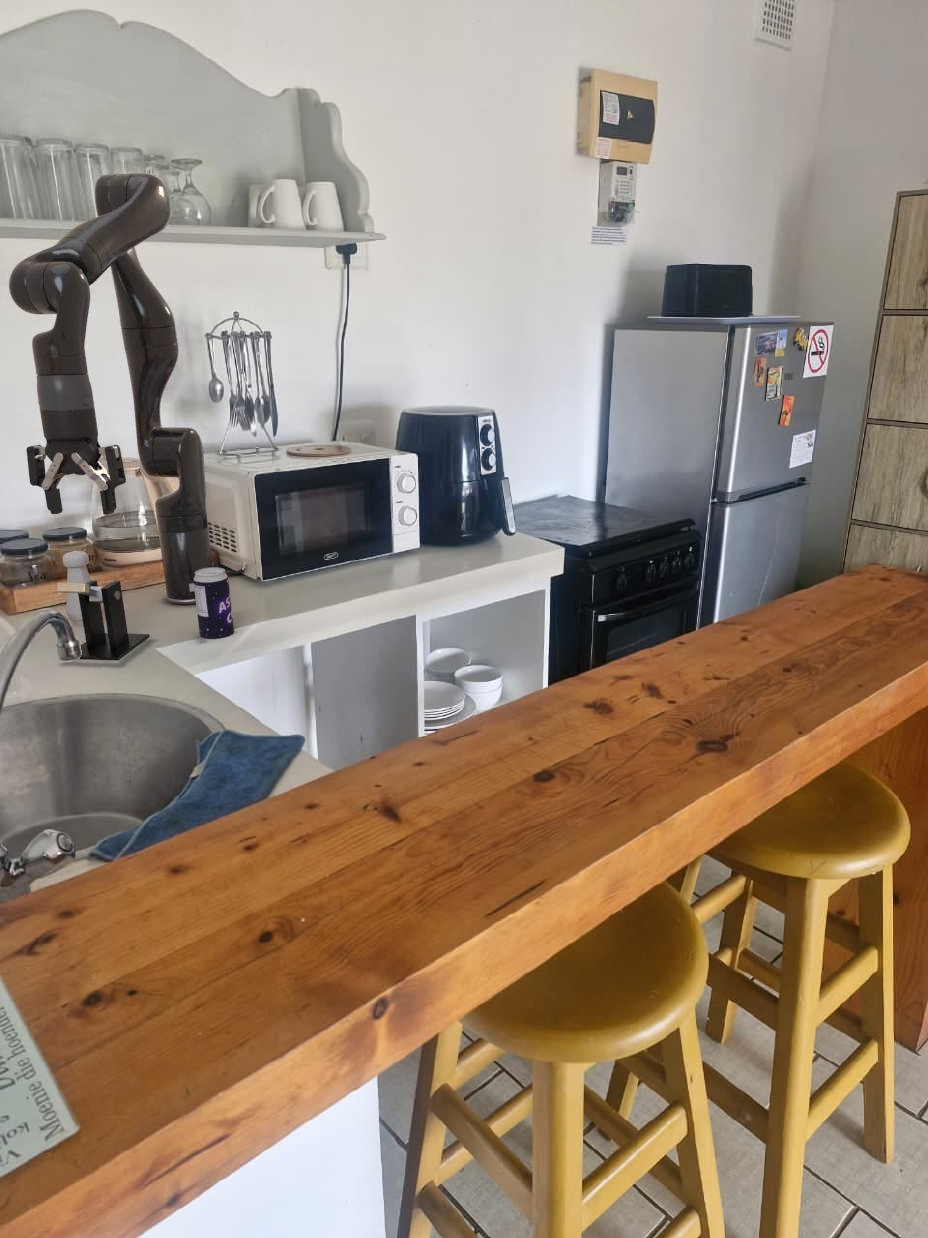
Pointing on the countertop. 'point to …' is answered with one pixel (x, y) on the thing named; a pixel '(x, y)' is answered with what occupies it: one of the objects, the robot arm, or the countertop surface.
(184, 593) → the robot arm
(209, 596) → the beverage can
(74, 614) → the salt shaker
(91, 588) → the switch lever
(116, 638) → the lever switch base
